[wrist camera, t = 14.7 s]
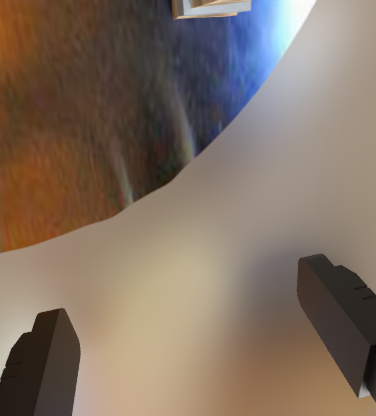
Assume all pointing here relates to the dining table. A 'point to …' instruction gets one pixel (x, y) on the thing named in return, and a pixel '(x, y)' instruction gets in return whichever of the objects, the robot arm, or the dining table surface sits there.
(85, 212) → the dining table surface
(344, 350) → the robot arm
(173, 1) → the tower base
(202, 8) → the tower mid
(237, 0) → the maple block
